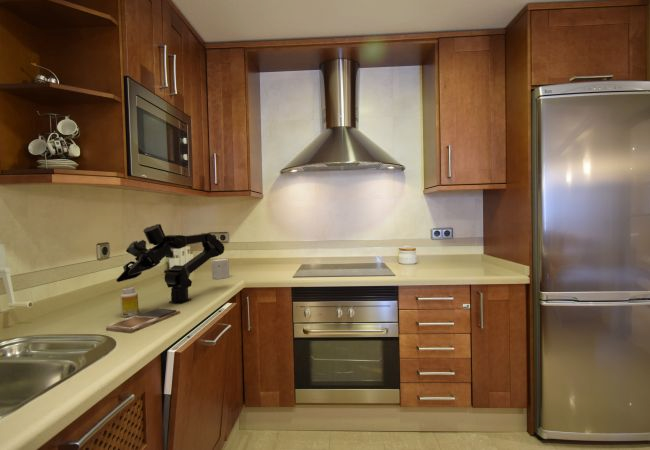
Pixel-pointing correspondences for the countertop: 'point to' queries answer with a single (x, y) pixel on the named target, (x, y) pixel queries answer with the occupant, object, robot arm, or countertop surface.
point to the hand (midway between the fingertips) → (122, 277)
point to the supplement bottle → (129, 302)
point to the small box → (220, 269)
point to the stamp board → (141, 320)
